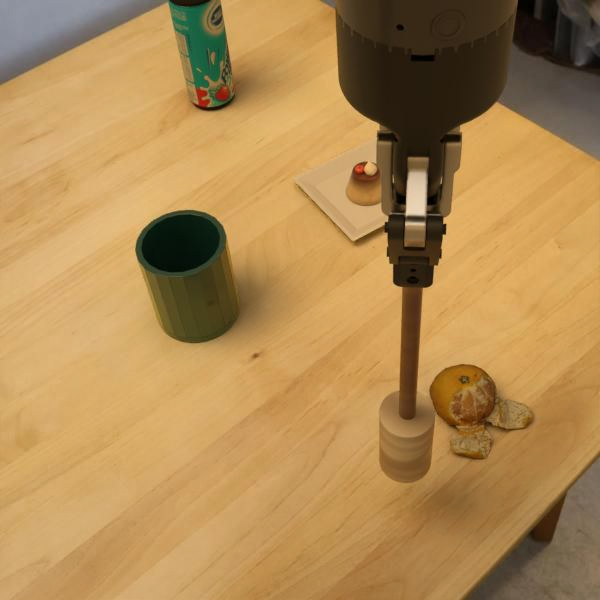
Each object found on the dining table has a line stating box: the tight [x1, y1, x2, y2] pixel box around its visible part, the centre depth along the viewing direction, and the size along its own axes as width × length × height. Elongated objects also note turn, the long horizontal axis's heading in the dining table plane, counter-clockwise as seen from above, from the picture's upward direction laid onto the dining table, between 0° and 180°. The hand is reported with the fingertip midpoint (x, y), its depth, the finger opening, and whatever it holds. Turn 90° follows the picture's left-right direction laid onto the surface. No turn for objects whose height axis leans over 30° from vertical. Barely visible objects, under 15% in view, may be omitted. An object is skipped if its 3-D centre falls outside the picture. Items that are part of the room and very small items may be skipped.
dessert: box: [292, 135, 394, 242], centre depth 93 cm, size 12×12×5 cm
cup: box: [134, 209, 241, 344], centre depth 82 cm, size 8×8×10 cm
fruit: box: [428, 363, 533, 460], centre depth 75 cm, size 8×8×4 cm
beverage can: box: [167, 0, 236, 110], centre depth 102 cm, size 6×6×15 cm
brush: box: [378, 287, 436, 484], centre depth 56 cm, size 4×4×28 cm
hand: (413, 264), depth 48 cm, fingers closed on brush, 2 cm apart
